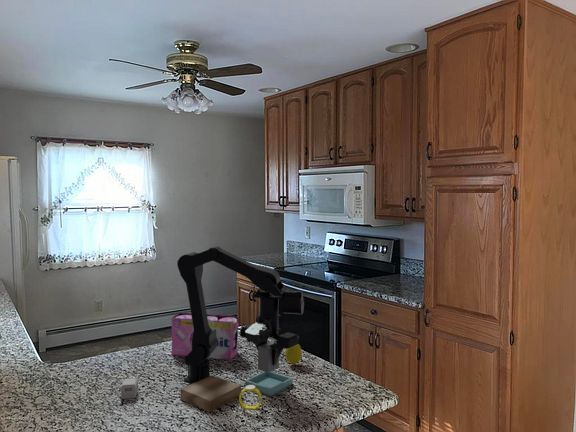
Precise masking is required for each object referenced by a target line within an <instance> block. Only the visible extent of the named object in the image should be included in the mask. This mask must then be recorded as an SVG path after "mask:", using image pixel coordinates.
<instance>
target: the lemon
mask: <svg viewBox="0 0 576 432" xmlns="http://www.w3.org/2000/svg"><path fill="white" fill-rule="evenodd" d="M284 353H285V359H286V361H287V362H288V363H290V364H291V365H292V366H295V365H296V364H297V363H300V361H301V359H302V356H303V355H302V354H303V352H302V347H301V345H300V343H299V344H297V345H295V346H293V347H291V348H287V349H286V348H285V351H284Z"/></svg>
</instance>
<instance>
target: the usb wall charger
mask: <svg viewBox="0 0 576 432" xmlns="http://www.w3.org/2000/svg"><path fill="white" fill-rule="evenodd" d="M138 391H139V380H138V378H136V377H132V378H125V379H123V381H122V384H121V387H120V398H121V399H122V400H125V399H135V398H136V396H137V394H138Z"/></svg>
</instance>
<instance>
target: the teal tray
mask: <svg viewBox="0 0 576 432" xmlns="http://www.w3.org/2000/svg"><path fill="white" fill-rule="evenodd" d="M248 385H254V386H255V388H256V389H258V390H259V391H260V393H261V395H262V394H264V395H265V396H268V397H273V396H275V395H277V394H278V393H280V392H282V391H284V390H286V389H287V388H289V387H291V386H292V385H293V378H292V377H289V376H287V375H283V374H280V373H277V372H274V371H271V372H269V373H268V372H264V371H262V372H260V373H258V374H255V375H254V376H251V377H248V378H247V379H245V380H244V388H245V387H246V386H248Z"/></svg>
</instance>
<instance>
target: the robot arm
mask: <svg viewBox="0 0 576 432" xmlns="http://www.w3.org/2000/svg"><path fill="white" fill-rule="evenodd" d="M209 262H215V263H217V264H218V265H221V266H223V267H225V268H227V269H230V270H231V271H233V272H236V273H237V274H239V275H241V276H244V277H245V278H246V279H248V280H250V282H251V283H252V284H253V285H254V286H256V287H257V288H258V289H257V291H256V292H255V293H254V294H252V298H254V299H255V298H256V299H257V298H259V301H258V302H259V305H258V306H259V307H258V308H259V309H258V310H259V315H257V316H256V317H255V322H254V323H250V324H247V325H243V326H242V327H240V329H239V336H240V338H241V337H242V338H244V339H245V338H246V341H247V342H249V343H252V344H254V345H255V348H256V350H257V351H258V346H260V345H263V344H265V343H268V342H269V340H273V343H274V344H272V345H270V347H271V349H272V364H273V366H274V365H276V363H277V361H278V359H280V357H281V354H282V352H283V350H284V349H285V350H286V349H287V348H291V347H293V346H295V345H297V344H299V345H300V337H299V335H298V334H296V333H292V332H285V333H282V334H279V333H281V332H282V329H281V327H279V320H281V319H282V315H281V314H279V310H280V312H282V313H283V314H290V315H303V314H304V309H305V299H304V295H303V294H304V293H303V290H287V288H286V286H285V285H284V283H283V281H281V276H280V274H279V273H280V272H278V270H276V269H273V268H270V267H266V266H261V265H256V264H253V263H252V262H249V261H247V260H246V259H243V258H241V257H239V256H237V255H235V254H233V253H231V252H229V251H227V250H225V249H223V248H221V247H220V246H217V245H215V246H213V247H209V248H208V249H206V250H204V251H202V252H201V251H200V252H195V251H194V252H193V251H192V252H190V253H186V254H183V255H181V256H180V257H179V258H178V260H177V262H176V263H177V269H178V272H179V275H180V277H181V278H182V280H183V282H184V283H185V285H186V286H185V287H186V292H187V298H188V303H189V309H190V313H191V316H192V322H193V328H194V331H193V336H192V351H191V352H190V353H189V354H188V355H187V356H185V357H184V359H183V360H184V361H185V365H187V376H186V377H184V378H183V381H185V382H188V383H189V384H193V383H195V382H197V381H200V380H202V379H204V378H207V377H209V376H211V373H210V372H211V369H210V368H211V367H210V360H209V358H208V357H209V356H210V355H211V353H212V352H213V351H214V350H215V348H216V346H217V342H218V339H217V335H216V329H215V330H211V328H210V327H209V324H208V319H207V314H208V312H207V308H206V301H205V297H204V290H203V283H202V277H203V272H204V264H207V263H209ZM268 339H269V340H268Z"/></svg>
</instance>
